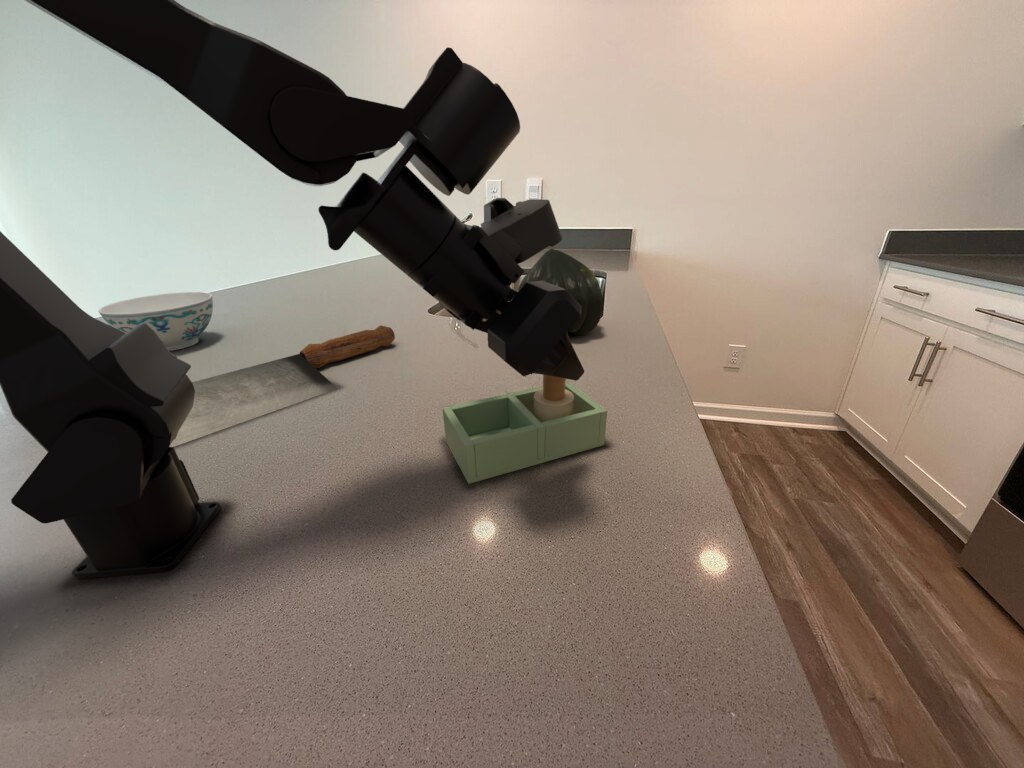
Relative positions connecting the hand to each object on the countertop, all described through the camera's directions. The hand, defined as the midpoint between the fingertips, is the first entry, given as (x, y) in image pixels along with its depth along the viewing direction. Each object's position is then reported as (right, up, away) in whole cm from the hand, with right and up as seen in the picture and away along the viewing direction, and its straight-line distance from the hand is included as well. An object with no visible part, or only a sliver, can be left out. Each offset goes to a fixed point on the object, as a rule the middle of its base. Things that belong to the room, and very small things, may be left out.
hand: (554, 358), depth 39 cm
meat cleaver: (-33, -2, +17) cm, 37 cm away
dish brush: (0, -7, +3) cm, 8 cm away
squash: (+4, +7, +35) cm, 36 cm away
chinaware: (-64, +4, +33) cm, 72 cm away
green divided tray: (-3, -9, +3) cm, 9 cm away
